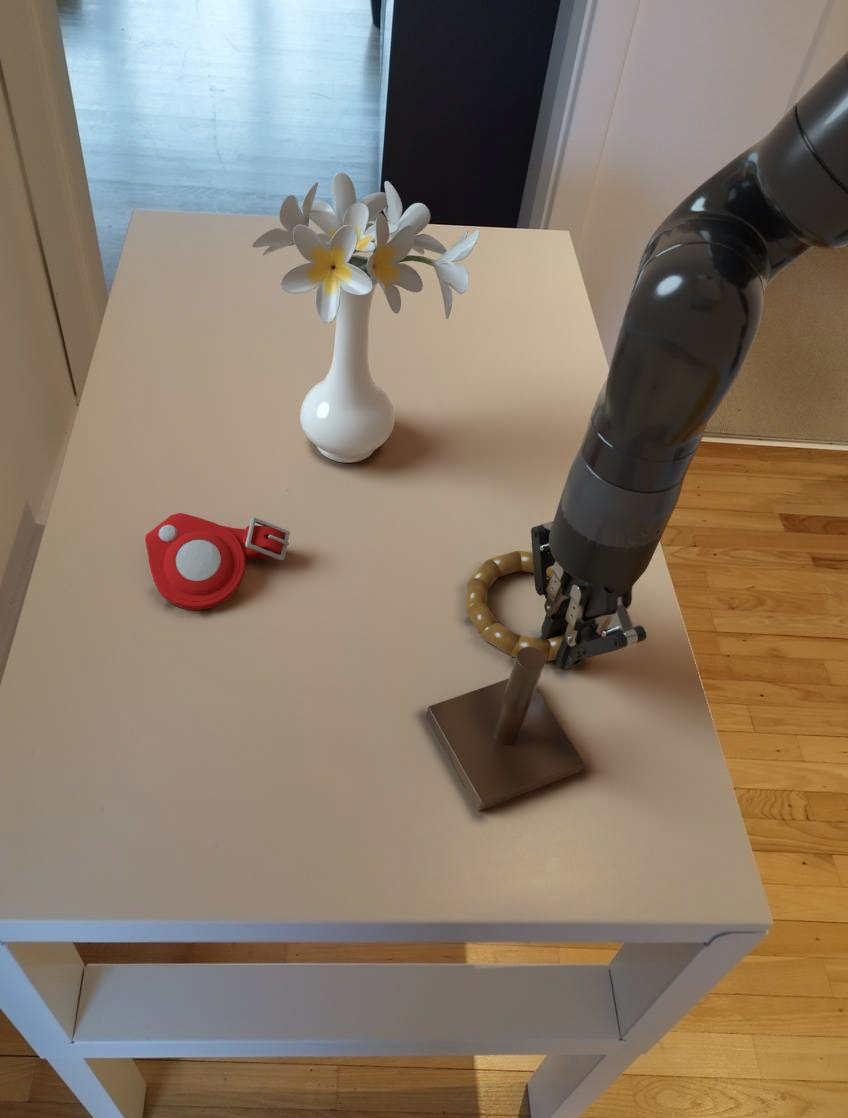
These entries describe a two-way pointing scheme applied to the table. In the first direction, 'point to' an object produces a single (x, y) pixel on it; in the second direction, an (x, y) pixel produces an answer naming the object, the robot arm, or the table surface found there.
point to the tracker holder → (207, 557)
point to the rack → (505, 736)
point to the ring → (485, 618)
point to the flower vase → (357, 300)
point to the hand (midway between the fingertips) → (559, 651)
